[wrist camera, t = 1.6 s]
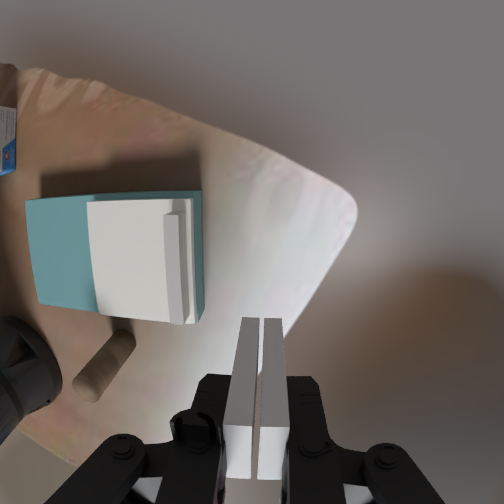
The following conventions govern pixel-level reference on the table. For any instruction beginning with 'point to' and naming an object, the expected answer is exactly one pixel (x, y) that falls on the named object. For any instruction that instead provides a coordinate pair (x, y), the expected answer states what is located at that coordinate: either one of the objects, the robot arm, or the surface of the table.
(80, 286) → the board
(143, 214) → the cover
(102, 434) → the table surface
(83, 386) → the peg
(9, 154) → the ink box
